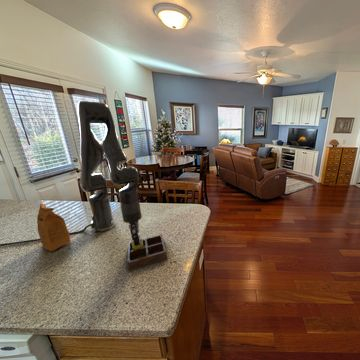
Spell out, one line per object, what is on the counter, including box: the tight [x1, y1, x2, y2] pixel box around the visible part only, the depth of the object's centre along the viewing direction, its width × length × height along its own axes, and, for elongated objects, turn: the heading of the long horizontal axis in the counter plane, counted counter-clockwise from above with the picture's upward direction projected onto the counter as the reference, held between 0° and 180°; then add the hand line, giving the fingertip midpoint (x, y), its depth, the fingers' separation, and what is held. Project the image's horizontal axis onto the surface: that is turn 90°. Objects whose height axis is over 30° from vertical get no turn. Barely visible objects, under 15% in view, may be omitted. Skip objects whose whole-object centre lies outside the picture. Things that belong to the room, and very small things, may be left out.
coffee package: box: [36, 203, 72, 252], centre depth 94 cm, size 10×12×22 cm
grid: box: [127, 234, 168, 271], centre depth 90 cm, size 16×16×4 cm
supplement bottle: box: [130, 232, 144, 250], centre depth 91 cm, size 5×5×8 cm
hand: (137, 241), depth 91 cm, fingers closed on supplement bottle, 4 cm apart
